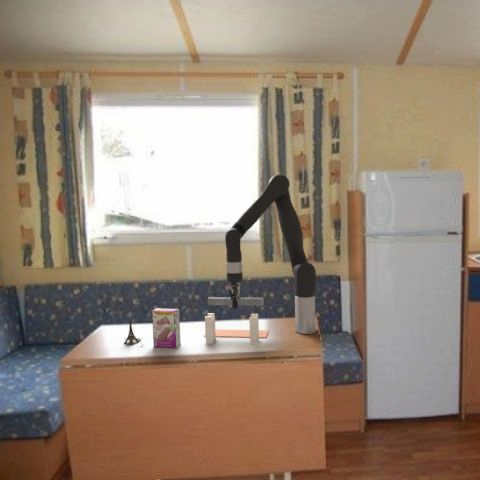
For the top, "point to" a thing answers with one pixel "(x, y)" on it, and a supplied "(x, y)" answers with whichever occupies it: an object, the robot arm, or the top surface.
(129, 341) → the eiffel tower figurine
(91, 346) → the top surface
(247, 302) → the rail
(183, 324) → the top surface
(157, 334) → the candy bar box
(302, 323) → the robot arm
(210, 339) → the stands
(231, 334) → the mat
